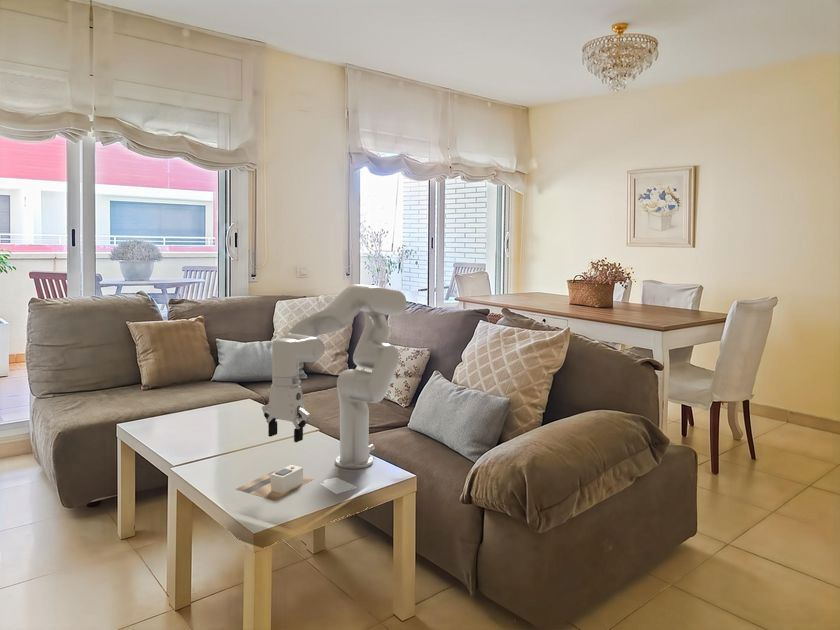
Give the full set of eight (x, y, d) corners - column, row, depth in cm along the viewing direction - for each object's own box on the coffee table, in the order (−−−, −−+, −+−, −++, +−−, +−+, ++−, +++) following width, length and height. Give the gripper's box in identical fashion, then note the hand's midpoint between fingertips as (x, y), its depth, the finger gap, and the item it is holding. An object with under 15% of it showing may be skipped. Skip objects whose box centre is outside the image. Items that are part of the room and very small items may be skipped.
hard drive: (359, 487, 184) (336, 474, 193) (335, 494, 178) (313, 480, 188) (359, 492, 184) (336, 479, 193) (335, 499, 178) (313, 486, 188)
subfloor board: (277, 472, 197) (277, 469, 196) (314, 482, 189) (314, 478, 189) (235, 492, 181) (235, 489, 181) (274, 503, 174) (274, 500, 174)
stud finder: (291, 480, 188) (291, 463, 187) (303, 483, 186) (302, 466, 185) (271, 490, 180) (270, 473, 179) (282, 493, 178) (282, 476, 177)
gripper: (317, 382, 178) (317, 440, 180) (271, 375, 186) (271, 430, 188) (300, 387, 171) (300, 446, 173) (254, 379, 180) (254, 436, 182)
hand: (285, 438), depth 181 cm, fingers open, 9 cm apart
